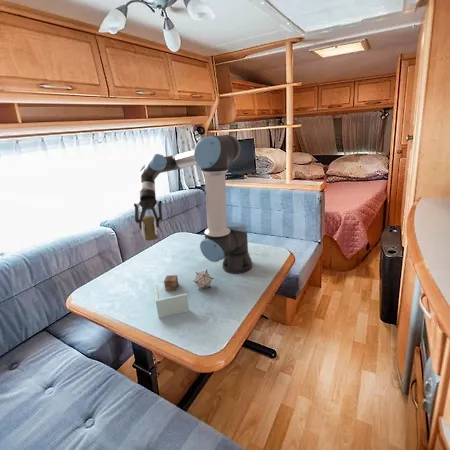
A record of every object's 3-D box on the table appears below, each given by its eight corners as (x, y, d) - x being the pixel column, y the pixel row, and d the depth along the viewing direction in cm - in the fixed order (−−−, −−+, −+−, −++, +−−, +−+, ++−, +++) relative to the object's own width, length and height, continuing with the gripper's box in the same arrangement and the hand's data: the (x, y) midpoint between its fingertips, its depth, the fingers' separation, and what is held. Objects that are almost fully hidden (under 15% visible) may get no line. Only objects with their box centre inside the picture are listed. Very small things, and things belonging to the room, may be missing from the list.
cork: (151, 241, 134) (147, 218, 130) (142, 239, 137) (138, 217, 133) (160, 236, 138) (157, 215, 135) (151, 235, 141) (148, 214, 138)
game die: (207, 296, 129) (209, 287, 121) (190, 289, 129) (190, 280, 121) (214, 279, 134) (216, 269, 126) (197, 273, 135) (198, 263, 127)
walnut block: (178, 284, 133) (177, 275, 132) (176, 290, 129) (175, 280, 127) (167, 285, 134) (166, 275, 132) (165, 290, 129) (163, 281, 127)
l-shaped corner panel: (189, 310, 113) (187, 294, 111) (158, 318, 110) (155, 301, 108) (184, 295, 124) (182, 280, 122) (156, 301, 121) (154, 286, 119)
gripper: (166, 195, 148) (170, 235, 137) (130, 198, 145) (131, 240, 135) (164, 186, 141) (168, 228, 131) (127, 190, 139) (127, 233, 129)
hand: (149, 234), depth 133 cm, fingers closed on cork, 5 cm apart
